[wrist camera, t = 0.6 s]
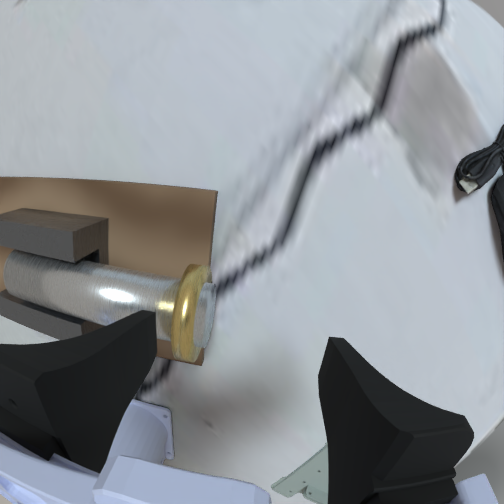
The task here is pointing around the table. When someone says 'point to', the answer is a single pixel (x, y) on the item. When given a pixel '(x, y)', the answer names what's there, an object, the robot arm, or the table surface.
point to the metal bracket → (308, 479)
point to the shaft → (119, 296)
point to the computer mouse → (485, 176)
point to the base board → (128, 222)
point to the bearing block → (54, 246)
